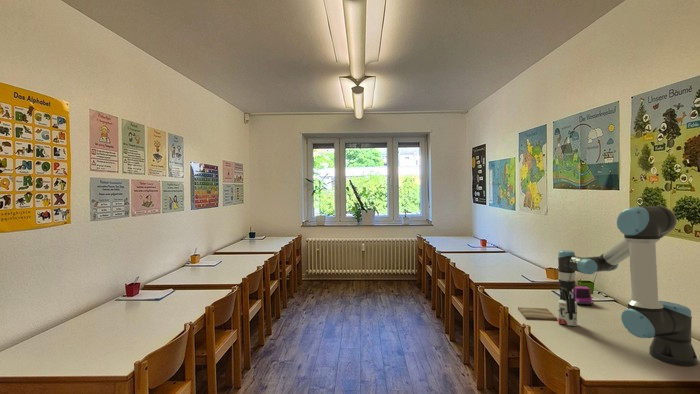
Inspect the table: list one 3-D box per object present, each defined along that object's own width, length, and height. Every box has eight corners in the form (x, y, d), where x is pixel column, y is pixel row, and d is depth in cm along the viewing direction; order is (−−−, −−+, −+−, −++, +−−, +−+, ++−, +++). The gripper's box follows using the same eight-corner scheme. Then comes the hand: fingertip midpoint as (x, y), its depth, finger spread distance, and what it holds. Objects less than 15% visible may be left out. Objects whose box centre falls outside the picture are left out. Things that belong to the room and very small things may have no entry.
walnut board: (557, 320, 195) (557, 318, 195) (526, 319, 198) (526, 316, 198) (546, 310, 211) (546, 308, 211) (517, 309, 214) (517, 307, 214)
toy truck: (575, 305, 218) (575, 289, 218) (566, 298, 233) (566, 282, 233) (595, 306, 216) (595, 290, 215) (584, 298, 231) (584, 283, 231)
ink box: (558, 323, 189) (558, 301, 189) (557, 320, 193) (557, 299, 193) (577, 326, 185) (577, 303, 185) (576, 323, 189) (576, 301, 189)
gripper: (582, 284, 179) (583, 330, 179) (567, 275, 198) (567, 317, 198) (566, 284, 180) (567, 329, 181) (552, 275, 199) (553, 316, 199)
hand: (567, 322), depth 189 cm, fingers closed on ink box, 6 cm apart
